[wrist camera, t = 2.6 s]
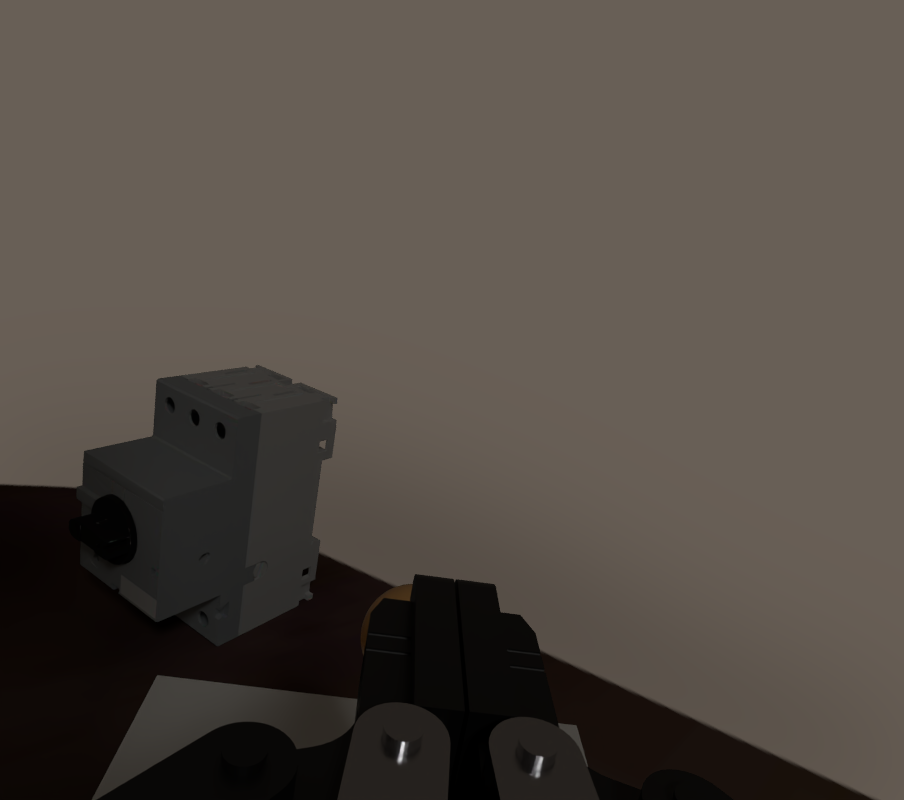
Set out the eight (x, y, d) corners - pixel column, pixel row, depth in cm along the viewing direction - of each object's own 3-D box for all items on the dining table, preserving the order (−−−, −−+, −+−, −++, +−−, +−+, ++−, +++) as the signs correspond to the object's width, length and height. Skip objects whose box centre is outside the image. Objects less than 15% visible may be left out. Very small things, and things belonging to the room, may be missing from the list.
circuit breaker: (50, 630, 43) (55, 392, 39) (241, 554, 55) (261, 364, 51) (123, 694, 39) (137, 438, 35) (312, 598, 51) (340, 397, 47)
